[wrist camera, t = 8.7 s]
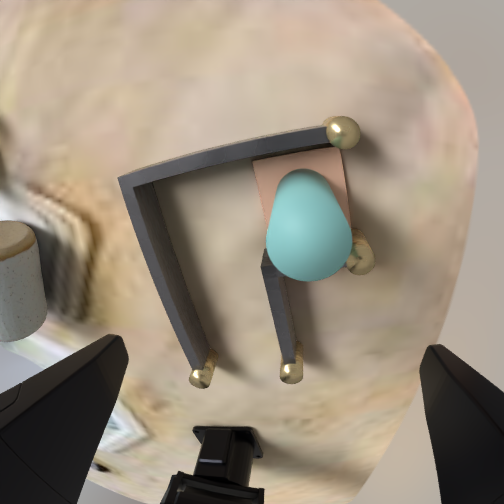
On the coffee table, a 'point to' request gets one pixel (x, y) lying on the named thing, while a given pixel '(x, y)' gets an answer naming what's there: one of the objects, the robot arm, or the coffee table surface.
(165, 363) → the coffee table surface
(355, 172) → the coffee table surface
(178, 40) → the coffee table surface
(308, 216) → the peg
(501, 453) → the robot arm
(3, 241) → the ceramic mug
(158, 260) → the metal rail track
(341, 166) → the pad
